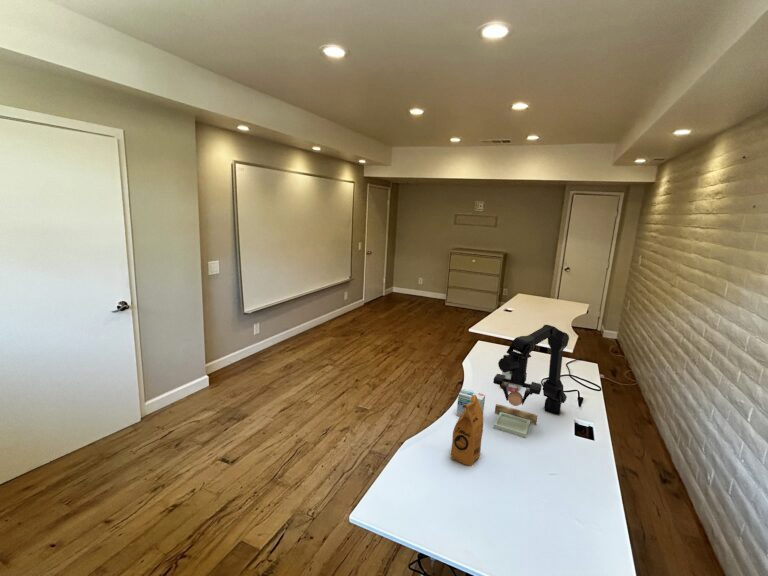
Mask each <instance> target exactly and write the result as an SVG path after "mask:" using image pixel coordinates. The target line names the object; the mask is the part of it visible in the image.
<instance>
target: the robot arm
mask: <svg viewBox="0 0 768 576" xmlns="http://www.w3.org/2000/svg"><path fill="white" fill-rule="evenodd" d="M545 340H547V344H548V346H549V348H550V357H549V358H550V359H549V369H548V378H547V379H546V380H545V381H544V382H542V384H541V383H538V382H534V381H532V382H531V383H525V382H526V381H527V374H528V373H527V367H528V361H529V360H528V359H529V358H531V357H532V355H531V353H532V352H533V351H534V350H535V347H536V346H537V345H539V344H540V343H542V342H544V341H545ZM569 341H570V335H569V334H568V333H567V332H564V331H562V330H560V329H558V328H557V327H556V326H554V325H549V324H543V326H541V328H538V329H537V330H534V332H532V333H530V334H527V335H521V336H516V337H515V338H514V339H513V340H512V341H511V343H510V345H509V347H508V349H507V351H506V354H504V355H503V357H502V358H500V359H499V360H498V363H497V366H498V368H499V370H500V371H501V373H497V374H496V375H495V376H494V377H493V384H494V385H497V386H498V385H499V388H500V387H502V389H501V390H502V391H503V394H504V397H505V400H506V402H507V401H508V395H509V394H510V391H509V384H512V385H516V386H520V387H521V388H524V389H525V391H524V393H523V396H522V397H523V400H522V403H521V405H522V406H523V405H524V403H525V402H526V400H527V398H528V397H529V396H531V395H533V394H535V395H540V394H541V392H542V391H543V392H542V393H543V397H546V398H545V401H544V407H543V408H544V412H546V413H549V414H554V415H558V416H560V414H561V410H562V409H561V408H562V407H561V406H562V404H565V402H566V400H567V395H566V394H565V392H564V385H563V383H562V380H561V373H562V365H563V364H562V363H563V352H564V349H566V347H568V343H569ZM509 371H510V374H511V379H507V378H506V375H502V372H509ZM508 402H509V401H508Z"/></svg>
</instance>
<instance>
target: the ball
mask: <svg viewBox="0 0 768 576" xmlns="http://www.w3.org/2000/svg"><path fill="white" fill-rule="evenodd" d="M523 397H524V396H522V394H521V393H520V392H519V391H517V392H516V391H513V392H509V393H508V402H509V404H510V405H511V406H514V407H518V406H520V405H522V400H523Z"/></svg>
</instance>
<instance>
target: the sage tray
mask: <svg viewBox="0 0 768 576" xmlns="http://www.w3.org/2000/svg"><path fill="white" fill-rule="evenodd" d="M530 425H531V423H530V420H528V419H524V418H521V417H517V416H513V415H510V414H506V413H503V412H500V413H499V414H497V417H496V419H495V421H494V423H493V427H492V428H493V429H495V430H497V431H502V432H504V433H507V434H511V435H514V436H518V437H521V438H524V439H526V438H527V434H528V431H529V428H530Z"/></svg>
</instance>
